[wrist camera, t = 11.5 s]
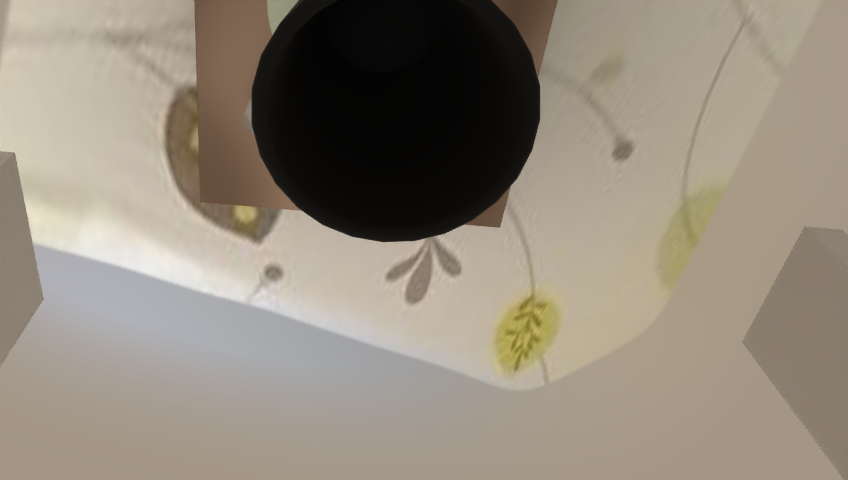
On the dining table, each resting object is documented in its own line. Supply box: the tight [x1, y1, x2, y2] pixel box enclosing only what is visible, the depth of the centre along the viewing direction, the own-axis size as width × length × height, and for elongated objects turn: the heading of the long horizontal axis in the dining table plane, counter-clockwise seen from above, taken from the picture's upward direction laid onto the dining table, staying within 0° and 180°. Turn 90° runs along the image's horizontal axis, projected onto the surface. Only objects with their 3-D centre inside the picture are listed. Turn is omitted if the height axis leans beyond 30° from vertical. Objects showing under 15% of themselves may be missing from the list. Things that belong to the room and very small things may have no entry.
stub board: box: [195, 0, 557, 227], centre depth 27 cm, size 15×20×4 cm
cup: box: [251, 0, 540, 242], centre depth 22 cm, size 8×8×12 cm
